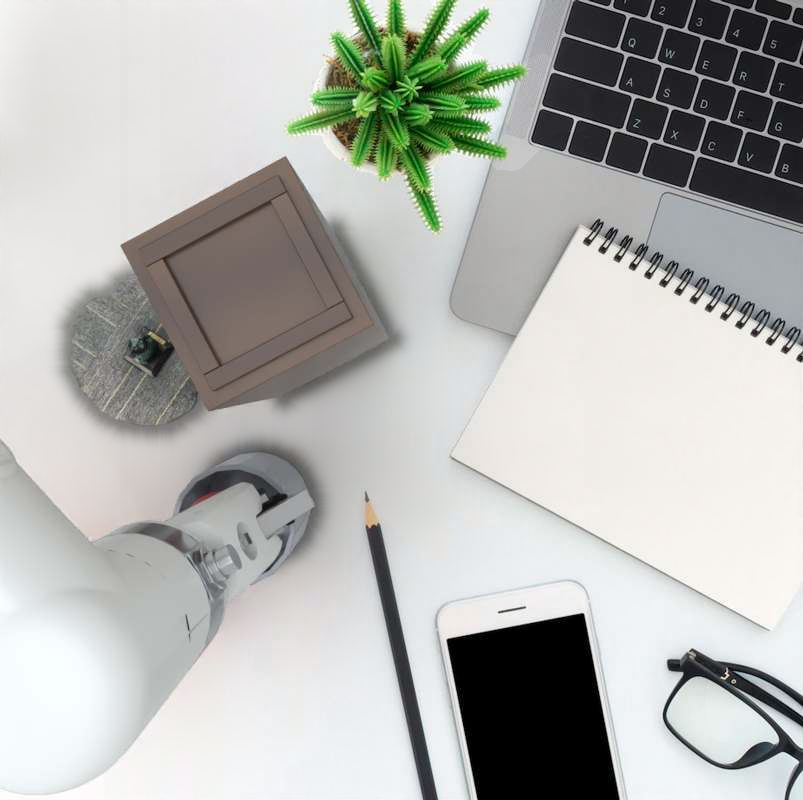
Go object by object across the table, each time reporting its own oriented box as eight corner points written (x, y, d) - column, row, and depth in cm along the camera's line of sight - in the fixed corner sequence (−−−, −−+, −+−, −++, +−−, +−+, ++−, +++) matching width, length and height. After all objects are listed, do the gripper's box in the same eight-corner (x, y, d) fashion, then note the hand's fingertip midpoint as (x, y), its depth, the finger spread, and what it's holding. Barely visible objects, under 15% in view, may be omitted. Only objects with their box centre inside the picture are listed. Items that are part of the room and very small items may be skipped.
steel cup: (185, 482, 69) (150, 499, 60) (279, 433, 69) (258, 443, 60) (235, 576, 69) (208, 607, 60) (329, 528, 69) (316, 552, 60)
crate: (224, 287, 68) (116, 243, 44) (332, 230, 68) (284, 153, 44) (281, 396, 69) (205, 412, 44) (389, 339, 68) (373, 323, 44)
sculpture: (221, 280, 69) (204, 342, 63) (229, 365, 75) (215, 428, 69) (72, 273, 68) (42, 335, 62) (93, 359, 74) (68, 422, 69)
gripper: (263, 451, 40) (312, 425, 58) (-49, 615, 41) (95, 539, 59) (336, 590, 40) (362, 521, 58) (24, 751, 41) (146, 633, 59)
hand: (228, 531), depth 58 cm, fingers closed on apple, 5 cm apart
